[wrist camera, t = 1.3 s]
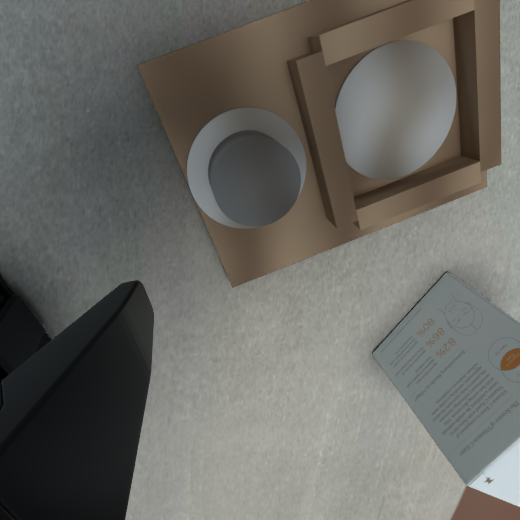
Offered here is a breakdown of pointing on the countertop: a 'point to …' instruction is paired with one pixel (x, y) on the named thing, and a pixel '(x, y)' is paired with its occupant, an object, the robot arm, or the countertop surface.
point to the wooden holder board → (331, 122)
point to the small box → (462, 382)
